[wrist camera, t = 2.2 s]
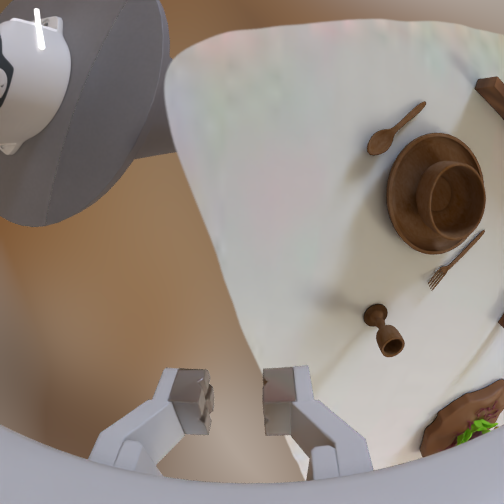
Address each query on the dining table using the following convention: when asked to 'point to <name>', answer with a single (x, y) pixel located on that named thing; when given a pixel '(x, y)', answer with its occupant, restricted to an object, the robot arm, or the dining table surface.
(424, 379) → the dining table surface
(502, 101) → the corner guard
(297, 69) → the dining table surface
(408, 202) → the place setting
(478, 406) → the plant
